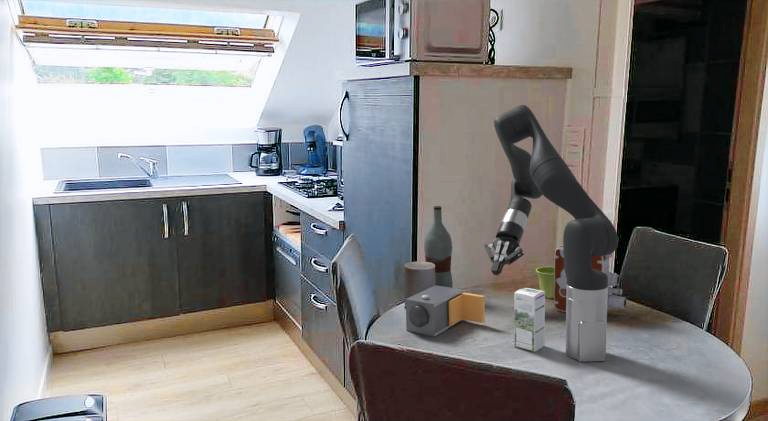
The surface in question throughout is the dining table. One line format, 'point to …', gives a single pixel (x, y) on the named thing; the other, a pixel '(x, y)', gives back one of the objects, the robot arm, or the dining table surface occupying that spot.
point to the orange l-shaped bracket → (467, 308)
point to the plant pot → (546, 280)
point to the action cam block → (430, 310)
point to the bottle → (439, 250)
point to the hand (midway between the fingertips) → (494, 273)
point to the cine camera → (597, 263)
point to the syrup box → (529, 319)
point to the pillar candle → (418, 277)
